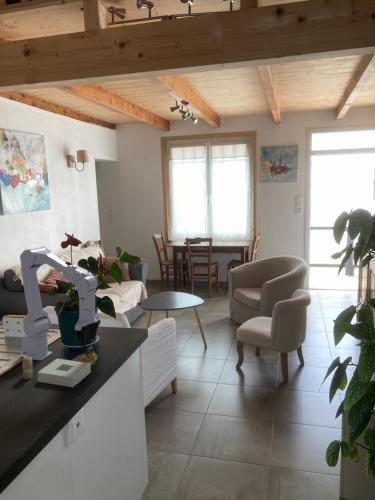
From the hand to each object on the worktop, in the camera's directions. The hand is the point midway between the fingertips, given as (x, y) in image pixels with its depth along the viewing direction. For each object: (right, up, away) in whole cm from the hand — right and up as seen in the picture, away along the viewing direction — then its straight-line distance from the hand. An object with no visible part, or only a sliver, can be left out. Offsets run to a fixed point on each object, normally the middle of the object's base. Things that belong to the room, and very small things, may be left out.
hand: (87, 342), depth 151 cm
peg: (-19, -11, -8) cm, 23 cm away
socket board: (-6, -11, -7) cm, 14 cm away
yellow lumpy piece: (-3, -10, +7) cm, 12 cm away
